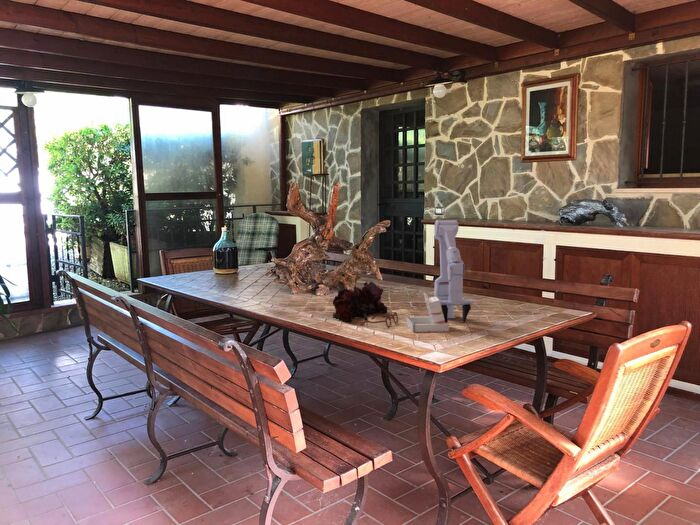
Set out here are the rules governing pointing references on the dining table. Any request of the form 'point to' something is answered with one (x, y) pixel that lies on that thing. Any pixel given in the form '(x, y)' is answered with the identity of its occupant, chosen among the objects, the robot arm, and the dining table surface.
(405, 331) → the dining table surface
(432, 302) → the ink cartridge box
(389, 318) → the glasses
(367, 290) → the flower arrangement
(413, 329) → the sorting bay
